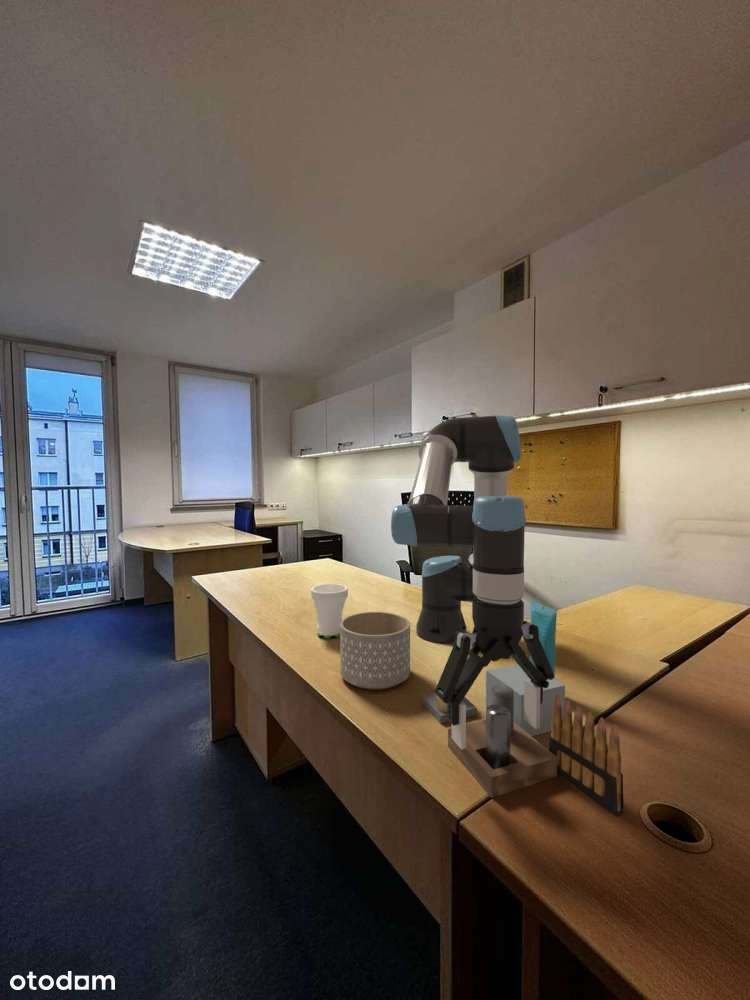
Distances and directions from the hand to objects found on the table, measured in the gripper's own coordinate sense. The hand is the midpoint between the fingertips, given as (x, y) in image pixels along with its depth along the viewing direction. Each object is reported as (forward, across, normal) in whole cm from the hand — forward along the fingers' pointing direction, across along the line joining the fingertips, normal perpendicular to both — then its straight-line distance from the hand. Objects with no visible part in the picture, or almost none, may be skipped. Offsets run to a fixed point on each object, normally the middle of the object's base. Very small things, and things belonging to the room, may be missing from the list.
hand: (496, 733), depth 60 cm
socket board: (+6, -2, -2) cm, 7 cm away
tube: (+7, -24, -16) cm, 30 cm away
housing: (+7, -14, -10) cm, 19 cm away
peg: (+6, 0, 0) cm, 6 cm away
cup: (+7, +11, -65) cm, 67 cm away
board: (+7, -2, -18) cm, 20 cm away
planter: (+7, +7, -36) cm, 38 cm away
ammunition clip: (+7, -10, +7) cm, 14 cm away
